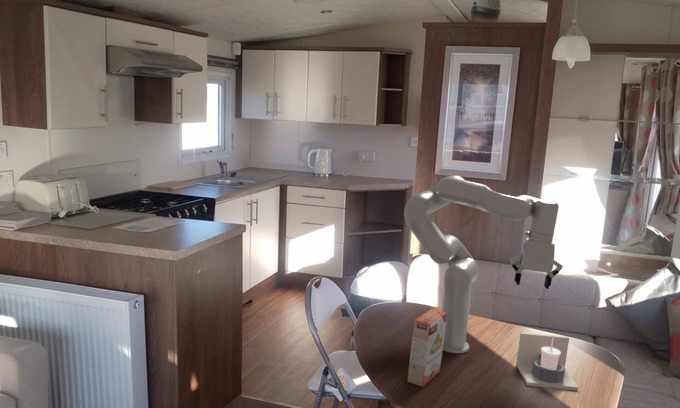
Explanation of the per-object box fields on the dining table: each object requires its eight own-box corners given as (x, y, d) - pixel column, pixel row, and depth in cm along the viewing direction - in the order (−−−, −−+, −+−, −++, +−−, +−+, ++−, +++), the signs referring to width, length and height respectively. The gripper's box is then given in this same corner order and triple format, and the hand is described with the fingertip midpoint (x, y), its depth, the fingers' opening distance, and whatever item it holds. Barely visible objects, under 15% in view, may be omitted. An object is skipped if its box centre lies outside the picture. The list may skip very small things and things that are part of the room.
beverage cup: (541, 369, 195) (547, 330, 193) (559, 376, 191) (565, 336, 189) (534, 375, 190) (540, 335, 188) (553, 382, 187) (559, 341, 184)
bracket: (527, 385, 186) (532, 350, 183) (516, 364, 200) (520, 332, 198) (577, 390, 185) (583, 355, 183) (563, 369, 199) (568, 336, 197)
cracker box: (424, 388, 178) (430, 324, 175) (406, 382, 181) (412, 319, 178) (441, 372, 190) (448, 312, 187) (424, 367, 193) (430, 307, 190)
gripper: (516, 236, 189) (508, 285, 193) (570, 243, 188) (560, 292, 191) (512, 231, 197) (504, 278, 200) (564, 237, 196) (554, 285, 199)
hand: (531, 285), depth 196 cm, fingers open, 9 cm apart
